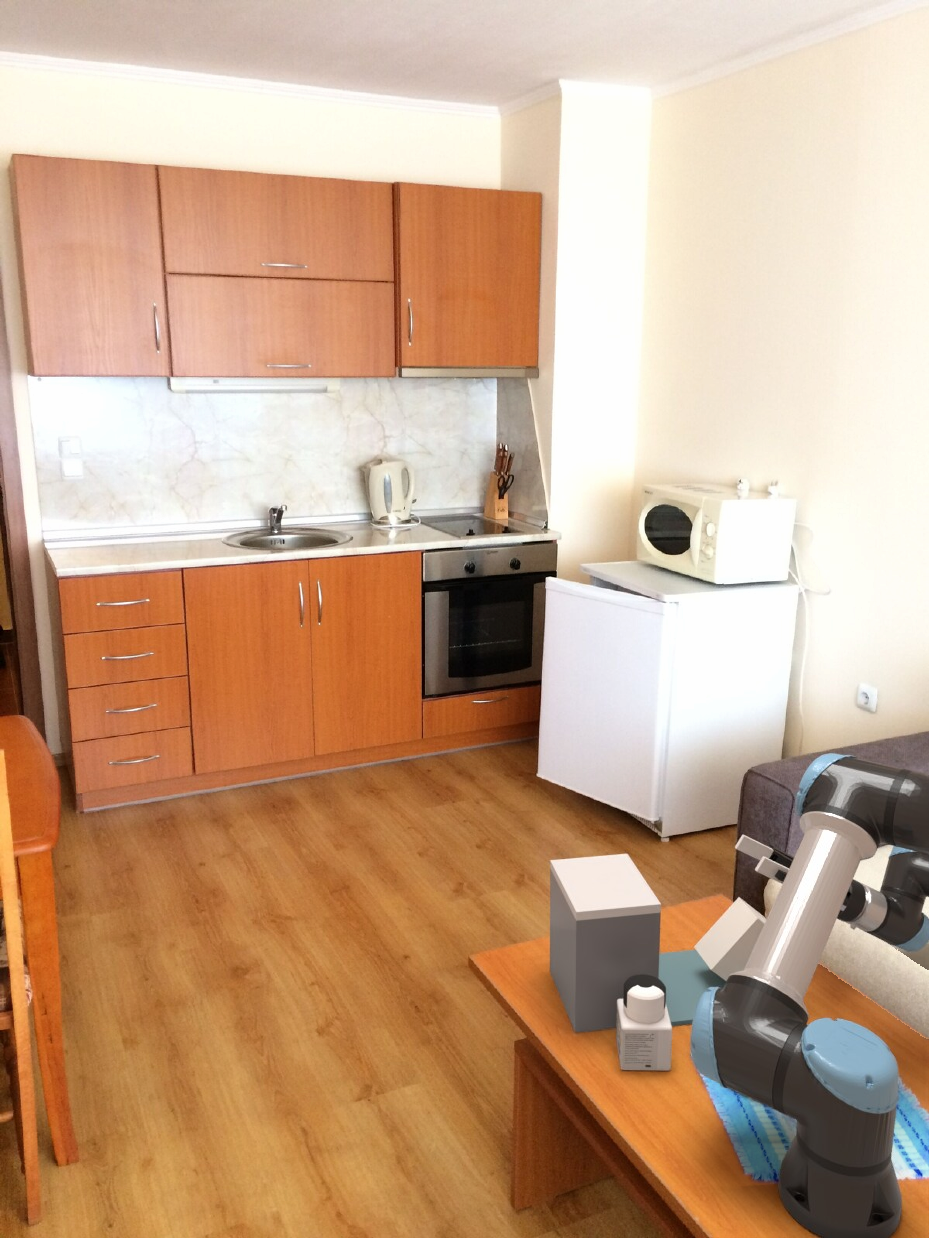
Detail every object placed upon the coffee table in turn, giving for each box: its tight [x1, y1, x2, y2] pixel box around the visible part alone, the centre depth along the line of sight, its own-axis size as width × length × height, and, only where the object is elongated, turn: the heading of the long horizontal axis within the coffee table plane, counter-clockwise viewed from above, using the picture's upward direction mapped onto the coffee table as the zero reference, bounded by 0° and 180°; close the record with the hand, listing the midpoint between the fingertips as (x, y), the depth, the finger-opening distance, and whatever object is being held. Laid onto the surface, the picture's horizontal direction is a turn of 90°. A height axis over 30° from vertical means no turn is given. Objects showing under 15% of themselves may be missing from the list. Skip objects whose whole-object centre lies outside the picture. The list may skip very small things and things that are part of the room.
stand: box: [549, 853, 662, 1034], centre depth 177 cm, size 14×18×22 cm
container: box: [615, 974, 673, 1072], centre depth 163 cm, size 8×8×13 cm
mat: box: [659, 949, 726, 1027], centre depth 183 cm, size 20×20×1 cm
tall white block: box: [693, 896, 767, 981], centre depth 184 cm, size 18×7×12 cm
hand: (749, 852), depth 178 cm, fingers open, 8 cm apart
